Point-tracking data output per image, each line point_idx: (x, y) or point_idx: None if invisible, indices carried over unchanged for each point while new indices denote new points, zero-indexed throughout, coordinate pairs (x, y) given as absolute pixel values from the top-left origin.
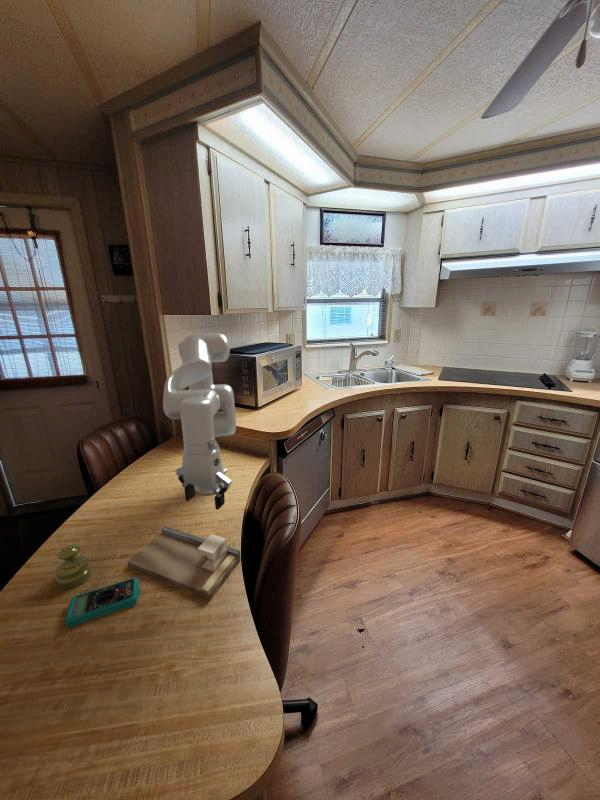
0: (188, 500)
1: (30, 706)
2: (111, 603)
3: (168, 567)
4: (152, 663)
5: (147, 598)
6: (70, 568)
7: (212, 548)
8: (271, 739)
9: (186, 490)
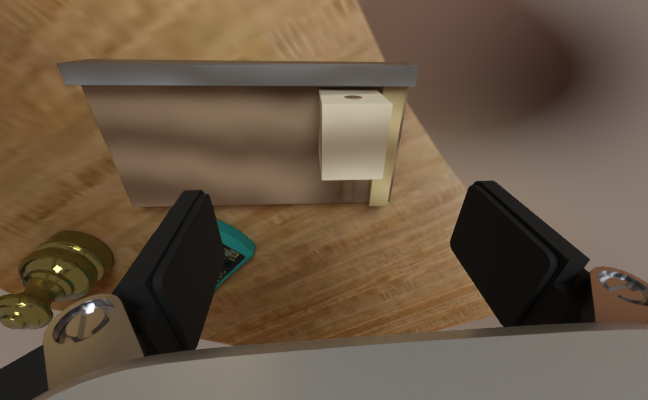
0: (224, 257)
1: (266, 341)
2: (224, 274)
3: (246, 183)
4: (357, 284)
5: (262, 230)
6: (73, 293)
7: (368, 162)
8: None
9: (192, 342)
